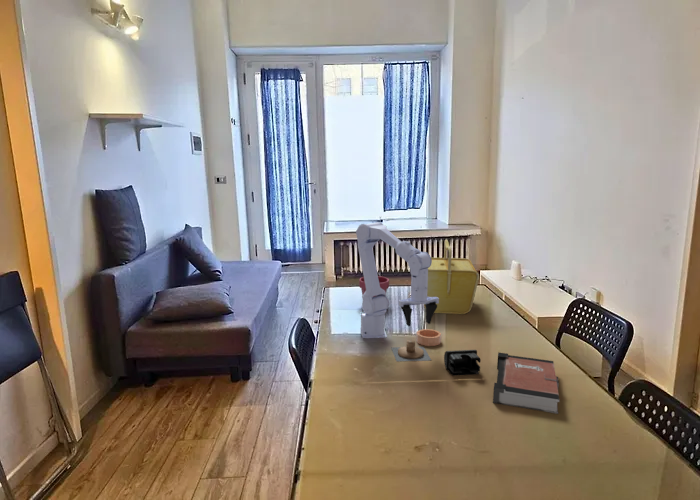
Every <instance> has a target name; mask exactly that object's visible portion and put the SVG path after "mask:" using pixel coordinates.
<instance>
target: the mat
mask: <svg viewBox="0 0 700 500" xmlns="http://www.w3.org/2000/svg"><path fill="white" fill-rule="evenodd" d="M401 347H402V346H399V347H398V346H396V347H390V349H391V351H392V354H393V356H394V358H395V361H396V362H419V361H420V362H423V361H424V362H426V361H427V362H429V361H432V359H431V357H430V355H429V353H428V352H427V350H426V348H425V346H418V347H419V348H421V349H422V350H423V351H424V355H423V356H422V357H421V358H417V359H407V358H403V357H401V356H399V355H398V349H399V348H401Z"/></svg>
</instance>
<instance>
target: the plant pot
mask: <svg viewBox="0 0 700 500" xmlns="http://www.w3.org/2000/svg"><path fill="white" fill-rule="evenodd" d="M378 279H379V284H380V288H382V289H383V290H384V291H385V292H386V293H387V290H388V289H389V287H390V279H389V278H387V277H385V276H383V275H382V276H379V275H378ZM358 281H359V285H358V286H359V288H360V289H361V293H362V294H361V295H363V294H364V293H365V291H366V286H365V280H364V276H361V277H360V278H359V280H358ZM376 296H377V295H376ZM373 297H375V296H373Z"/></svg>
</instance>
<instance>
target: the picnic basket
mask: <svg viewBox="0 0 700 500" xmlns="http://www.w3.org/2000/svg"><path fill="white" fill-rule="evenodd" d="M443 250H444V253H443V257H431V259H432V263H431V266H430V267H429V268H428V287H427V297H438V298H439V303H437V304H436V305H437V309H436V310H435V312H434V314H447V315H448V314H451V315H453V314H454V315H465V314H467V313H469V312H470V311H471V310H472V308H473V304H474V299H475V296H476V291H477V287H478V284H479V280H480V274H479V272H478V271H477V270H476V268H475V267H474V265H473V262H472V261H471V259H469V258H466V257H465V258H463V257H462V258H460V257H452V256H453V255H452V252H453V251H452V247H451V246H450V242H449V241H448V239H445V240H444V249H443ZM423 307H424V308H425V310H426V306H425V304H423Z"/></svg>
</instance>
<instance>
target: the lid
mask: <svg viewBox="0 0 700 500" xmlns="http://www.w3.org/2000/svg"><path fill="white" fill-rule="evenodd" d="M400 347H401V348H399V349H398V355H399V356H401V357H403V358H407V359H417V358H421V357H422V356H423V355H424V351H423V350H422V349H421V348H419V347H420V346H416V340H412V339H407V340H406V345H405V346H400Z"/></svg>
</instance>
